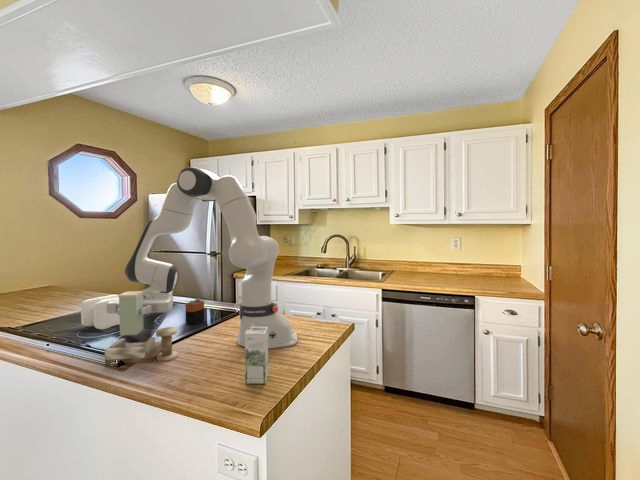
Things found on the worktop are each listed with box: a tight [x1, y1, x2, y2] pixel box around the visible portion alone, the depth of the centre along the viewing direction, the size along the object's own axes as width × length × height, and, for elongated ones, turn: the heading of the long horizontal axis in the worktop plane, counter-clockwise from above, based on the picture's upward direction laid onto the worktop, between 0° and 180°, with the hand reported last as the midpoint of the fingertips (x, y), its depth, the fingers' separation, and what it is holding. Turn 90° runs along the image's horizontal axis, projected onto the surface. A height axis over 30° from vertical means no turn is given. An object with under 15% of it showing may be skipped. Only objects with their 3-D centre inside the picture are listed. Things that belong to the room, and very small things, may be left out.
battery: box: [185, 298, 205, 326], centre depth 134 cm, size 4×7×10 cm, turn 155°
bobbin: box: [155, 326, 178, 362], centre depth 100 cm, size 6×6×9 cm
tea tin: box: [119, 290, 144, 336], centre depth 100 cm, size 5×5×13 cm
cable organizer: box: [80, 294, 120, 331], centre depth 130 cm, size 15×11×12 cm
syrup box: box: [244, 327, 269, 385], centre depth 86 cm, size 6×6×14 cm
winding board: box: [104, 336, 162, 366], centre depth 102 cm, size 14×13×4 cm
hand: (130, 312), depth 100 cm, fingers closed on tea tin, 5 cm apart
